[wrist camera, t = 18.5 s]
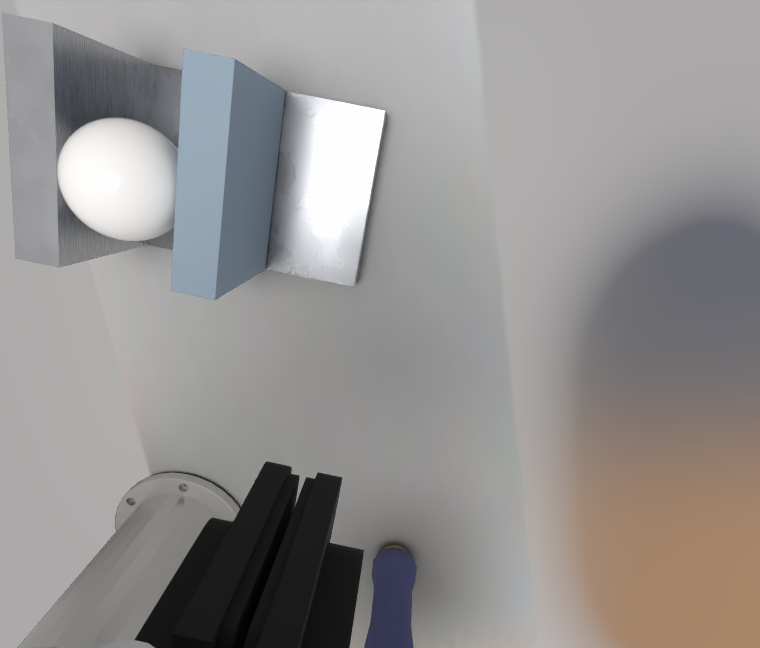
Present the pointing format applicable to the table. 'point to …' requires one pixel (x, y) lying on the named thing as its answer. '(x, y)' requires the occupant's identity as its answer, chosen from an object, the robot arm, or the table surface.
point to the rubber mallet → (392, 599)
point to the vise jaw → (224, 174)
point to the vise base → (162, 111)
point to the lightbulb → (120, 178)
